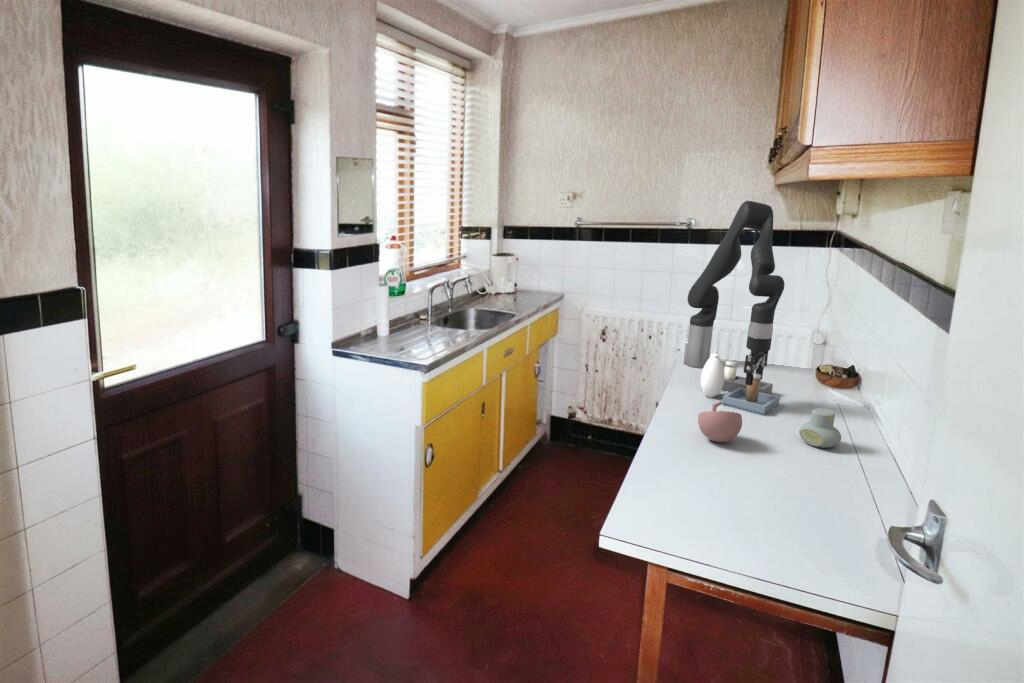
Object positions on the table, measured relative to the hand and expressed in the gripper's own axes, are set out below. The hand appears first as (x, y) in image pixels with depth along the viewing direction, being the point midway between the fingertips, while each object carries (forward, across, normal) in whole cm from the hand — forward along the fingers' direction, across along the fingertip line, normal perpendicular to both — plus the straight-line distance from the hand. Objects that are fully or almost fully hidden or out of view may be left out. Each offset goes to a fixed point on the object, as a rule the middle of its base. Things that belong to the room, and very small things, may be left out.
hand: (753, 382), depth 208 cm
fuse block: (+8, -12, -8) cm, 17 cm away
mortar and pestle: (+8, +38, +5) cm, 39 cm away
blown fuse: (+7, 0, 0) cm, 7 cm away
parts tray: (+8, 0, 0) cm, 8 cm away
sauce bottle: (+8, +2, -14) cm, 16 cm away
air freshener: (+8, +19, +27) cm, 34 cm away
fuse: (+8, -12, -13) cm, 20 cm away
